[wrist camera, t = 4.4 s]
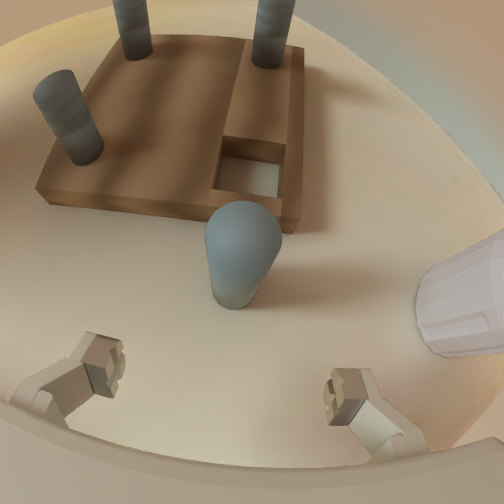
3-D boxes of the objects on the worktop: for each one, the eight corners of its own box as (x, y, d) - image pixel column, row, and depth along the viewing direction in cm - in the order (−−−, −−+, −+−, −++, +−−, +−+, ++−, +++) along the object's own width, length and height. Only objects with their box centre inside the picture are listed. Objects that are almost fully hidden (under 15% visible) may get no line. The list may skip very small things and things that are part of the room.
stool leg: (209, 306, 23) (199, 266, 12) (215, 265, 24) (211, 195, 13) (252, 312, 23) (278, 277, 13) (257, 270, 24) (284, 206, 14)
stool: (49, 203, 24) (-13, 134, 14) (124, 54, 31) (110, -16, 21) (291, 234, 25) (335, 154, 15) (298, 66, 32) (319, -8, 22)
